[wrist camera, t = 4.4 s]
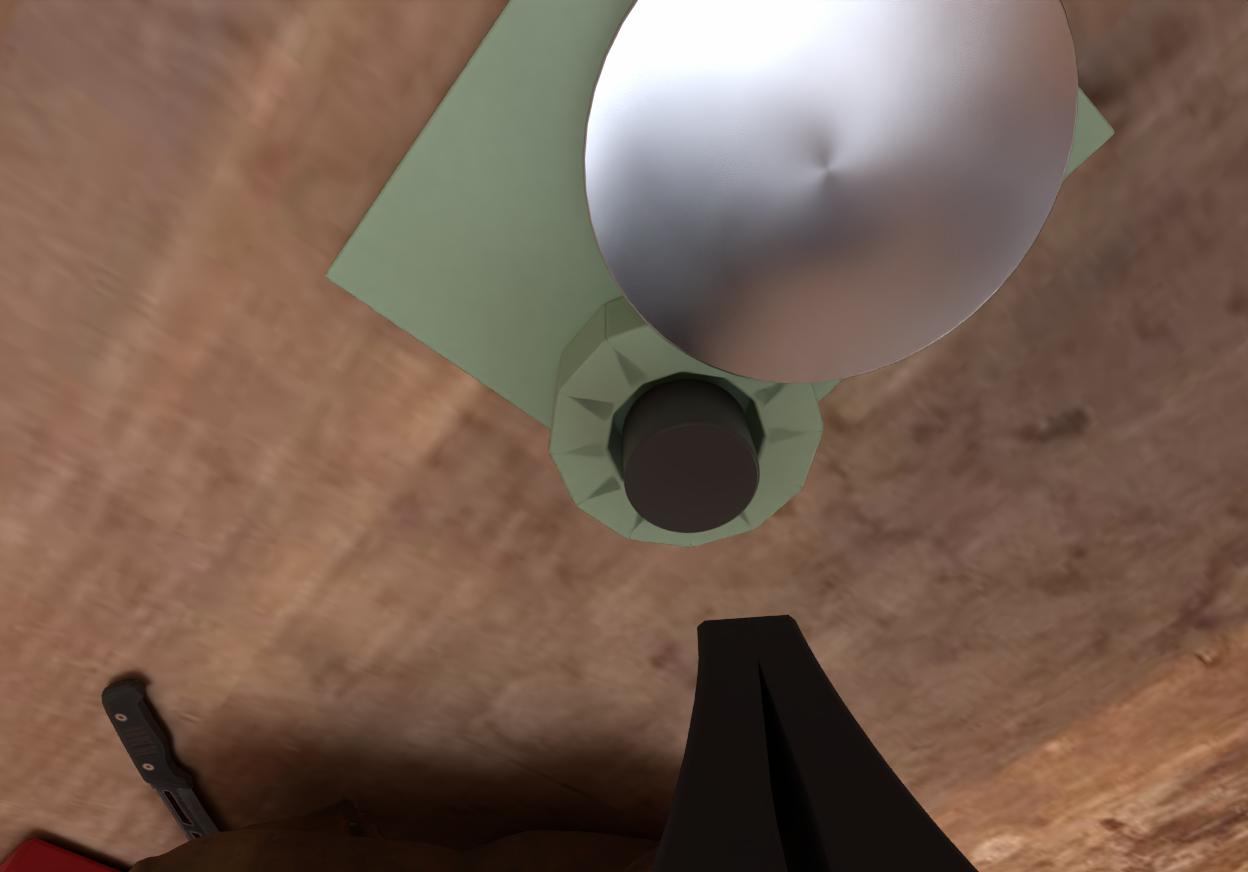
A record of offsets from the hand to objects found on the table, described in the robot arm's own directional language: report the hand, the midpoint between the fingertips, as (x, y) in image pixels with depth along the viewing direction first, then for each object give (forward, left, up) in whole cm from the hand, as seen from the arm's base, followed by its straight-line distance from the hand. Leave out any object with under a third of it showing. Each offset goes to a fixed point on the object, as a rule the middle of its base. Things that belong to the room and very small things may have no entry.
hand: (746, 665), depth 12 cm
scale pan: (-2, -6, -6) cm, 8 cm away
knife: (+15, +16, -8) cm, 24 cm away
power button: (0, 0, -6) cm, 6 cm away
